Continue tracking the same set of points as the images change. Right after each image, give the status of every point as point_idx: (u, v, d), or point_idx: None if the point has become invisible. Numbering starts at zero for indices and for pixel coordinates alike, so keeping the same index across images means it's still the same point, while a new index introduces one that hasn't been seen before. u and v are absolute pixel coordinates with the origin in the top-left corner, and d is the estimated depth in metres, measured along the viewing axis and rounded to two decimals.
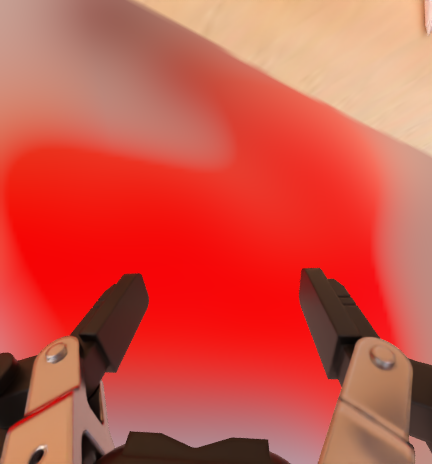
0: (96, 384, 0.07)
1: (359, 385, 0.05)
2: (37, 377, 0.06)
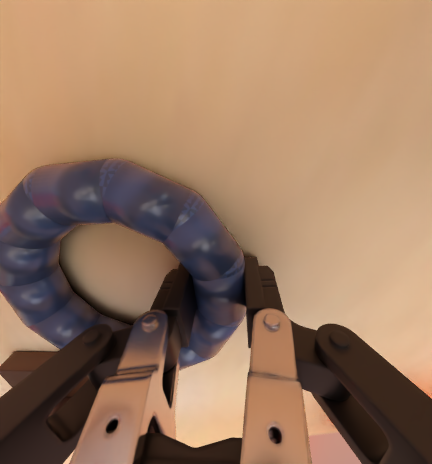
0: (175, 356, 0.08)
1: (261, 353, 0.06)
2: (132, 339, 0.07)
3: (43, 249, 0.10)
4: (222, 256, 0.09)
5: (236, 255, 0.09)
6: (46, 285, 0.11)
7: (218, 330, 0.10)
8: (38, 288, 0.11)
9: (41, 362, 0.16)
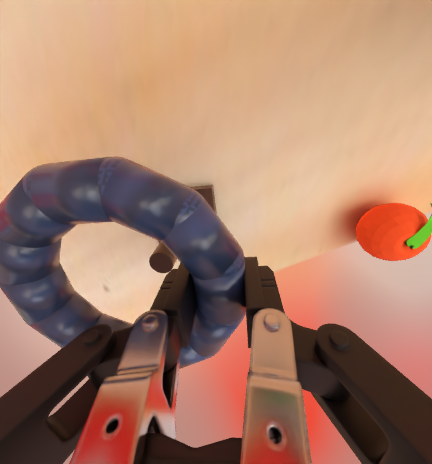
0: (176, 356, 0.08)
1: (261, 353, 0.06)
2: (132, 339, 0.07)
3: (44, 248, 0.10)
4: (222, 255, 0.09)
5: (236, 254, 0.09)
6: (47, 284, 0.11)
7: (218, 329, 0.10)
8: (39, 287, 0.11)
9: None
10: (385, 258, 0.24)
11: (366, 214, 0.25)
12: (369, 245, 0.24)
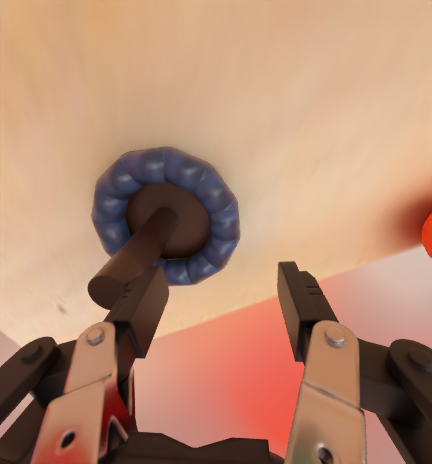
0: (128, 368, 0.08)
1: (318, 366, 0.05)
2: (77, 357, 0.06)
3: (123, 200, 0.17)
4: (225, 198, 0.16)
5: (232, 198, 0.16)
6: (121, 225, 0.18)
7: (224, 245, 0.17)
8: (117, 226, 0.18)
9: None
10: None
11: None
12: None
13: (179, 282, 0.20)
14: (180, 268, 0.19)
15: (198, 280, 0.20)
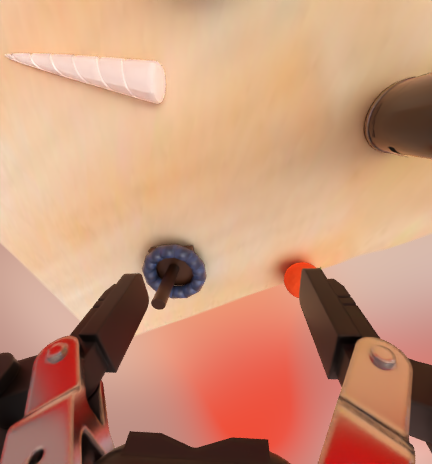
0: (96, 384, 0.07)
1: (359, 385, 0.05)
2: (37, 377, 0.06)
3: (156, 263, 0.41)
4: (198, 264, 0.40)
5: (201, 264, 0.40)
6: (154, 272, 0.42)
7: (198, 282, 0.41)
8: (153, 273, 0.42)
9: None
10: (298, 297, 0.39)
11: (288, 268, 0.40)
12: (288, 289, 0.39)
13: (180, 296, 0.44)
14: (180, 290, 0.43)
15: (188, 296, 0.44)
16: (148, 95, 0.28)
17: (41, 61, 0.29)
